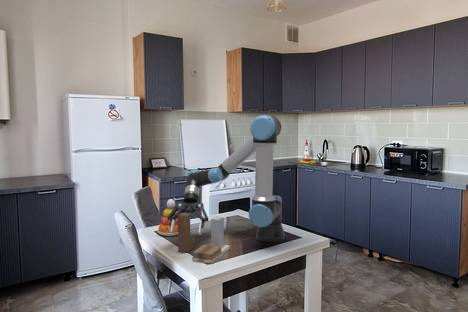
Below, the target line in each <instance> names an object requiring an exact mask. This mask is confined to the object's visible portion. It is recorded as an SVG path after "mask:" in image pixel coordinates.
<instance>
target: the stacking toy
mask: <svg viewBox="0 0 468 312" xmlns="http://www.w3.org/2000/svg"><path fill="white" fill-rule="evenodd" d="M175 206H176V202H175V200H174V199H173V198H170V199H168V200H167V201H166V208H165V209H164V211H163V213H162V216H161V219H160V223H159V225H158V228H157V230H156V231H157V233H158V234H159V235H160V236H161V235H162V236H165V237H166V236H168V237H173V236H178V218H177V219H176V220H175V225H174V230H173V234H171V232H170V230H171V227H170V221H169V220H168V218H167V216H168V215H169V214H170V213H171V211H172V210H173V209H174V207H175ZM178 211H179V210H178ZM178 211H177V212H178ZM177 212H176V213H177ZM176 213H175V214H176Z"/></svg>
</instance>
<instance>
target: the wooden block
mask: <svg viewBox="0 0 468 312" xmlns="http://www.w3.org/2000/svg"><path fill="white" fill-rule="evenodd" d="M195 248H196V238H195V237H192V235H191V213H190V212H188V213H186V212H185V213H181V214H179V215H178V235H177V252H180V253H185V254H186V253H189V252H190V251H191V250H193V249H195Z"/></svg>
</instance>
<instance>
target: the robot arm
mask: <svg viewBox="0 0 468 312" xmlns="http://www.w3.org/2000/svg"><path fill="white" fill-rule="evenodd" d="M249 129H250V134H251V136H250V137H249V138H248V139H246V141H245V142H243V144H242V145H240V146H239V147H238V148H237V149H236V150H235V151H233V152H232V153H231V154H230V155H229V156H228V157H227V158H226V159H224V160H223V161H222V162H221V163H220V164H219V165H218V166H216V167H213V168H209V169H207V170H203V171H201V170H199V169H197V168H196V169H194V168H193V169H190V170H189V171H188V173H187V177H186V182H185V183H186V185H185V190H184V194H183V201H182V203H179V202H175V207H174V209H173V210H172V211H171V213H170V214H169V215H168V216H167V218H168V220H169V221H170V227H171V230H170V232H171V234H173V230H174V225H175V220H176V219H177V218H178V215H179V214H181V213H189V214H192V213H194V214H195V215H196V216H197V217H198V219H199V226H198V235H199V236H201V235H202V229H204V227H205V224H206V222H209V216H208V214H207V211H206V210H205V208H204V202H200V203H199V198H200V190H201V187H204V186H208V185H212V184H216V183H220V182H221V181H225V180H226V179H228V178H229V176H230V175H231V174H232V173H233V172H234V171H235V170H236V169H238V168H239V167H240V166H241V165H242V164H243V163H244V162H246V161H247V160H248V159H249V158H250V157H251V156H252V155H254V154H255V173H254V174H255V178H254V179H255V181H254V184H255V185H254V195H253V196H252V197H251V207H250V208H249V210H248V218H249V221H250V222H251V224H253V225H254V226H255V227H257V231H256V233H255V234H256V239H257V240H258V241H261V242H264V243H279V242H282V241H284V240H285V239H286V234H285V230H284V228H283V225H282V220H283V218H282V217H283V214H282V210H283V207H282V206H283V205H282V204H283V198H282V197H281V196H280V195H273V188H274V187H273V184H274V182H273V181H274V179H273V178H274V147H275V146H276V145H277V144H278V136H279V135H281V132H282V123H281V121H280V120H279V119H278V118H277V117H275V116H273V115H266V114H264V115H259V116H257V117H255V118H254V119H253V120H252V121H251V124H250V128H249ZM198 208H199V209H200V210H201V212H202V213H201V212H199V210H198ZM177 211H178V212H177ZM176 212H177V213H176ZM175 213H176V214H175Z"/></svg>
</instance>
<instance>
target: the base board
mask: <svg viewBox="0 0 468 312" xmlns="http://www.w3.org/2000/svg"><path fill="white" fill-rule="evenodd" d="M230 249H231V246H230V245H229V244H224V245H223V246H222V247H220V246H211V242H210V243H209V244H202V245H201V246H200V247H198V248H197V249H196V250H194V251H193V252H192V257H191V261H192V262H197V263H204V264H205V263H206V264H211V265H213V264H214V263H216V262H217V261H218V260H219V259H221V257H222V256H223V255H225V254H226V253H227V251H229V250H230Z"/></svg>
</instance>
